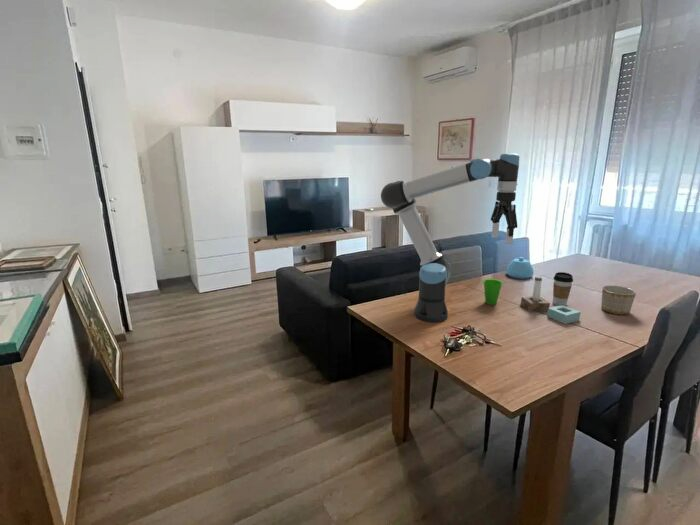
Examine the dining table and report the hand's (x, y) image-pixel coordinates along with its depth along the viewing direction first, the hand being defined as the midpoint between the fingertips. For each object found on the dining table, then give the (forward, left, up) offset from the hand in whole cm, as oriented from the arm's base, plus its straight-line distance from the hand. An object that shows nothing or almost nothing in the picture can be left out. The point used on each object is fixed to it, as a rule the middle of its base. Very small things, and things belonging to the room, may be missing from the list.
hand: (501, 240), depth 164 cm
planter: (+57, -2, -35) cm, 67 cm away
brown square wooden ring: (+22, +5, -35) cm, 41 cm away
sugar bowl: (+40, +55, -35) cm, 76 cm away
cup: (+4, +13, -35) cm, 37 cm away
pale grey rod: (+22, +5, -35) cm, 41 cm away
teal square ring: (+28, -8, -35) cm, 45 cm away
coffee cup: (+37, +9, -35) cm, 52 cm away
